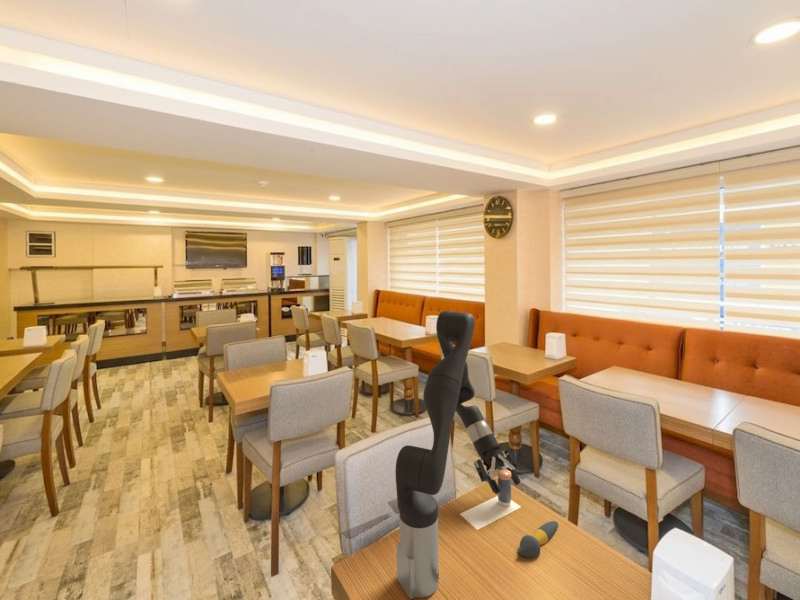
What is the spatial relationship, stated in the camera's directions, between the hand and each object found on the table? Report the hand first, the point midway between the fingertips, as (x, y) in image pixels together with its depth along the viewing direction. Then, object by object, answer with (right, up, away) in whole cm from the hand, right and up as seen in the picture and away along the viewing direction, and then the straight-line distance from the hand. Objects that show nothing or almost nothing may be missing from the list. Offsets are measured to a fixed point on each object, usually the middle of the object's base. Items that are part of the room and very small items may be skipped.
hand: (508, 488), depth 109 cm
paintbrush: (+4, -9, -12) cm, 16 cm away
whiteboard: (-6, -7, -1) cm, 9 cm away
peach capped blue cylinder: (-1, -5, +2) cm, 6 cm away
